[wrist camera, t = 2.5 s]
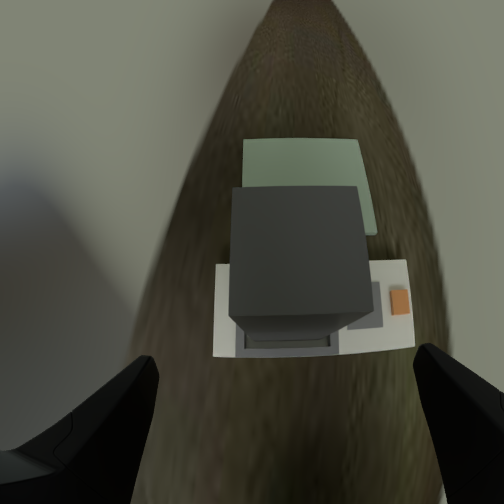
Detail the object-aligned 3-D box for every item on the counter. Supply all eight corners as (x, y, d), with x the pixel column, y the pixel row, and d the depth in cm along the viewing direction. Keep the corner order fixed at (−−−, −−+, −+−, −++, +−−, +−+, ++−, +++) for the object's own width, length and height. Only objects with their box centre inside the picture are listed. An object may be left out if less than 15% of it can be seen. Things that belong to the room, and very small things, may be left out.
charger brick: (319, 339, 17) (374, 310, 8) (253, 341, 18) (228, 315, 8) (316, 276, 19) (357, 185, 9) (254, 278, 19) (232, 187, 9)
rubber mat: (375, 235, 21) (377, 232, 21) (241, 237, 22) (240, 234, 21) (356, 143, 24) (357, 139, 24) (243, 143, 25) (243, 139, 25)
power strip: (406, 347, 18) (421, 345, 16) (217, 357, 19) (209, 356, 17) (398, 266, 20) (411, 254, 18) (220, 270, 21) (213, 259, 19)
